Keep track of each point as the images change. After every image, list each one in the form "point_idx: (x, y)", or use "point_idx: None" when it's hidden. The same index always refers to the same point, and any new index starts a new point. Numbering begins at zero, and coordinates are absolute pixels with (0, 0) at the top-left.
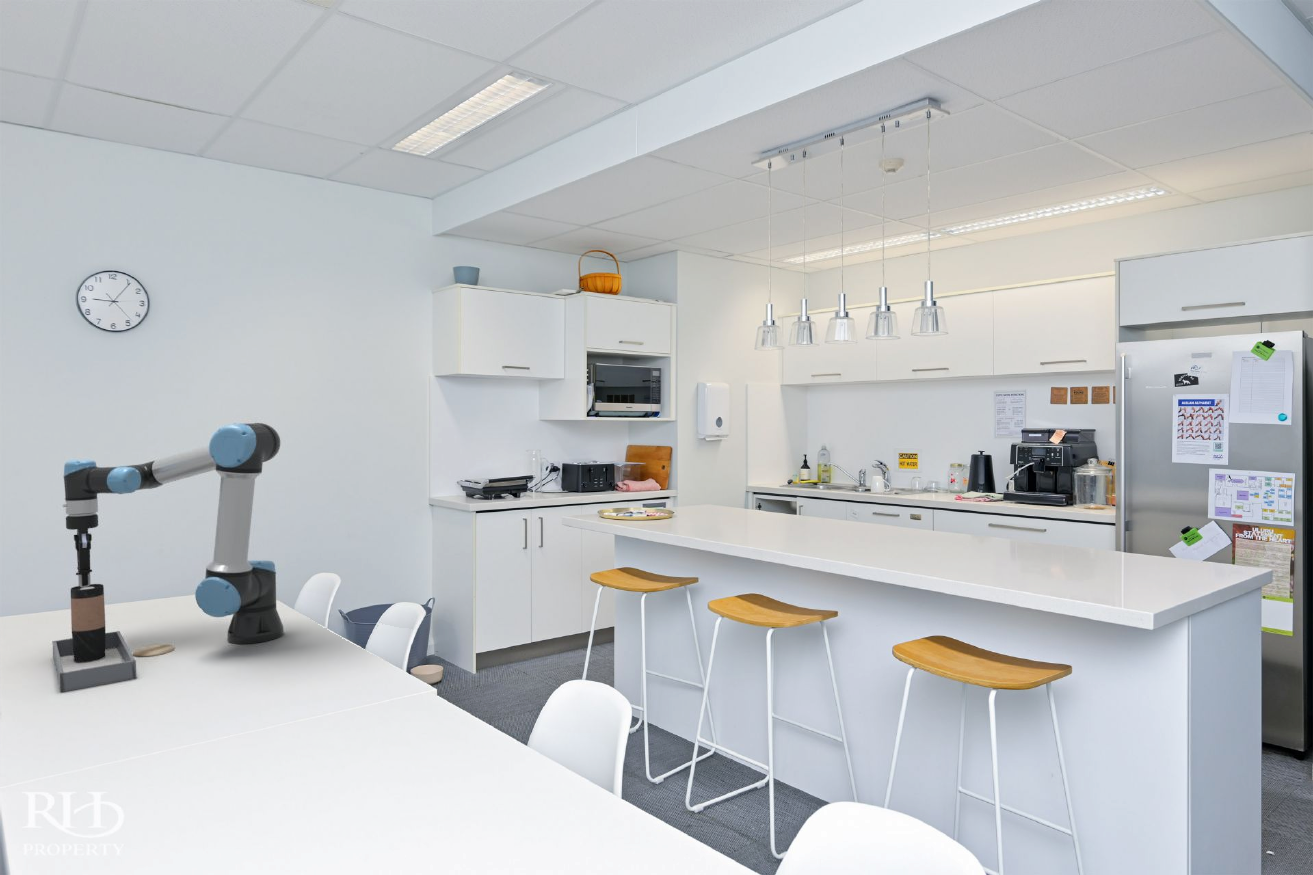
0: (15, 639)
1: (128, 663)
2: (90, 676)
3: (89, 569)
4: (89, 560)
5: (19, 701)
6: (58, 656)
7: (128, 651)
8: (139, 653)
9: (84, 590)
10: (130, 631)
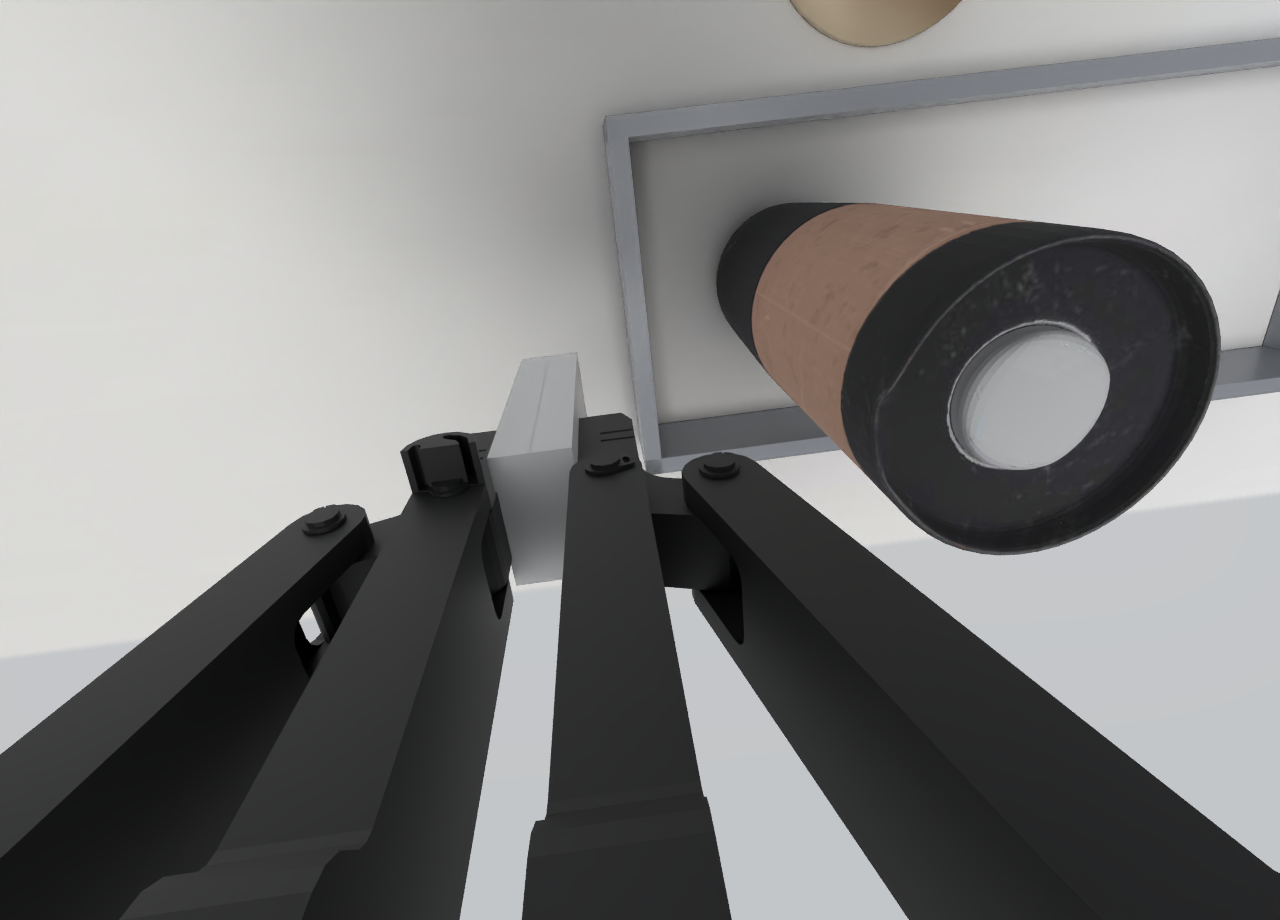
0: (161, 624)
1: None
2: None
3: (767, 483)
4: (886, 576)
5: (1248, 476)
6: None
7: (1242, 54)
8: (917, 1)
9: (1191, 422)
10: (187, 54)
